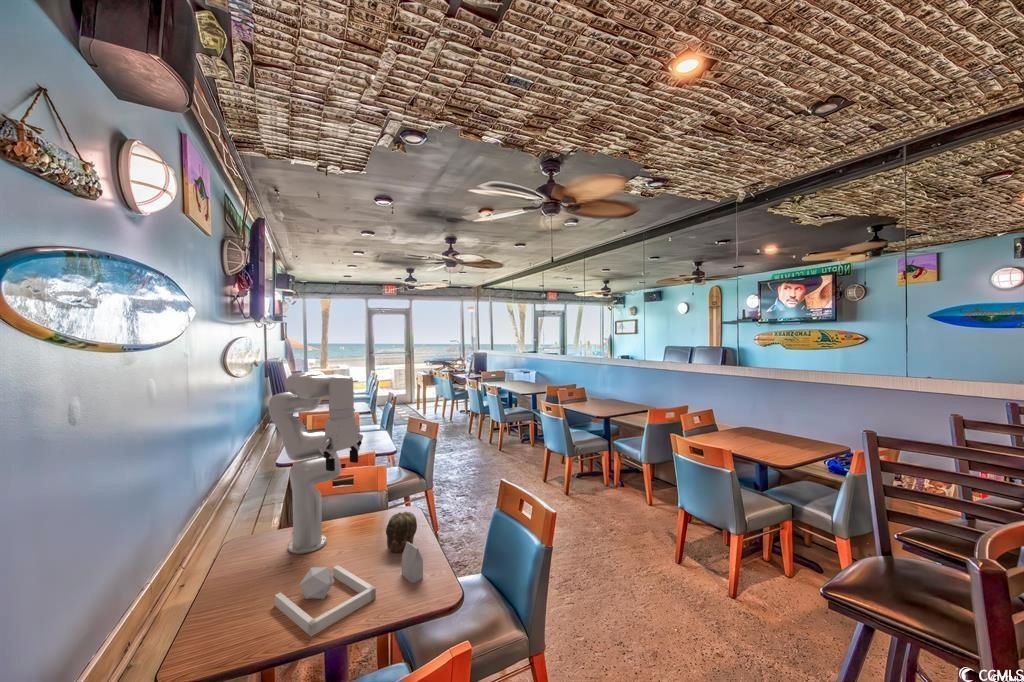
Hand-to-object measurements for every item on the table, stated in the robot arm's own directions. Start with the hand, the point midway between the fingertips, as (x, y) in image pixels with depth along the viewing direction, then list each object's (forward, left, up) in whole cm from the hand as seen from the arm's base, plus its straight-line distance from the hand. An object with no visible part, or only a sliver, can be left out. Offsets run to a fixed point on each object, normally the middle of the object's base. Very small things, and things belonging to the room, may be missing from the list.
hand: (342, 466), depth 131 cm
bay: (+10, -11, -35) cm, 38 cm away
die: (+5, -11, -35) cm, 37 cm away
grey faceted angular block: (+20, +12, -35) cm, 42 cm away
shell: (+2, +22, -35) cm, 41 cm away
